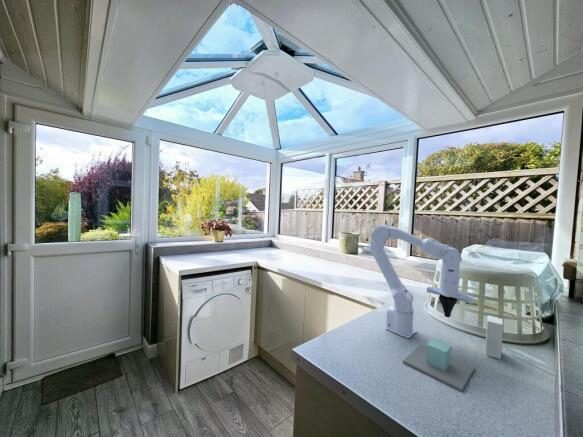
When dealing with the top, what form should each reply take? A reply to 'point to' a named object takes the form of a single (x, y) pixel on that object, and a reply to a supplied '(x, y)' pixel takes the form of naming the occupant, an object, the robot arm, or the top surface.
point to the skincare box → (494, 336)
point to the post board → (452, 376)
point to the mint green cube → (438, 354)
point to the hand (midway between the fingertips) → (447, 316)
